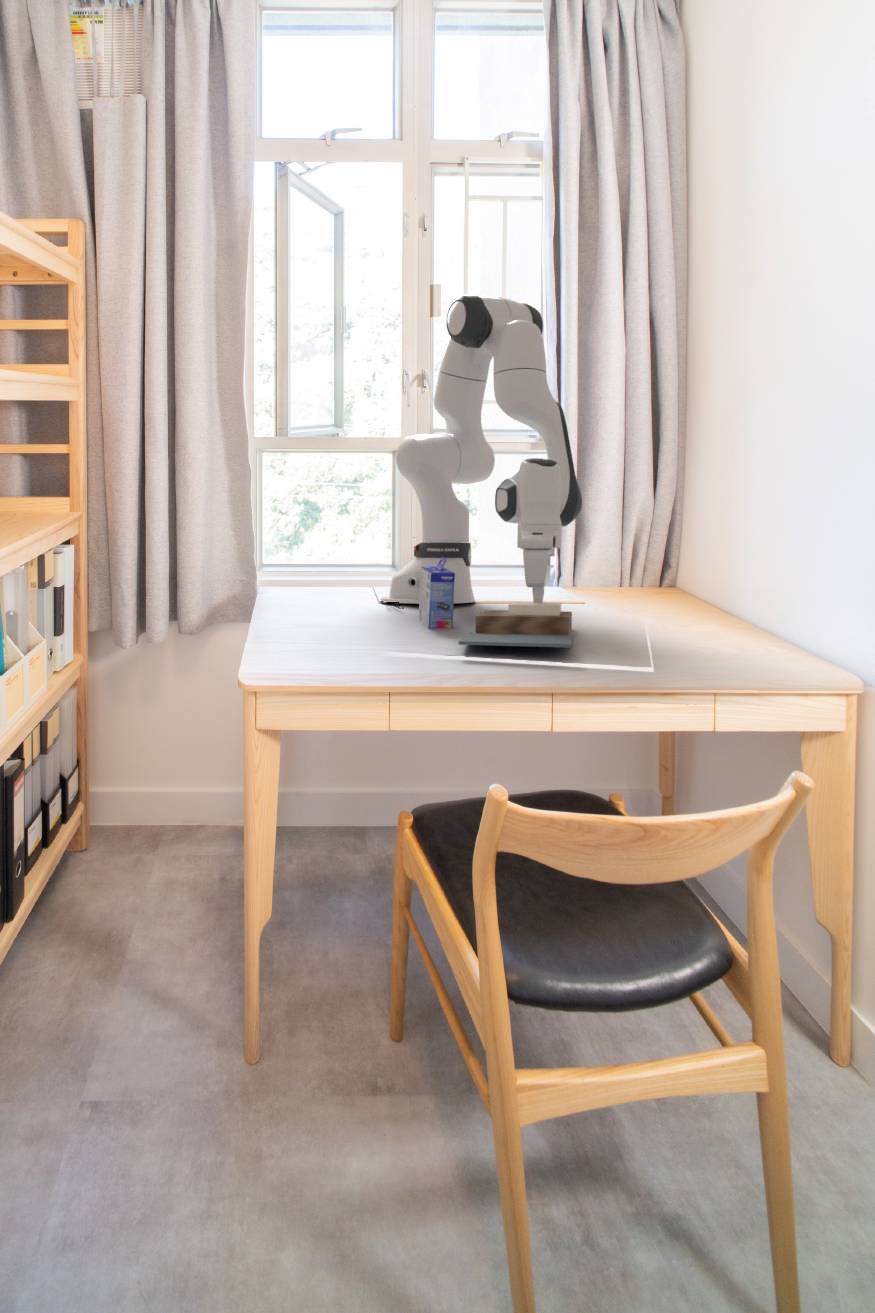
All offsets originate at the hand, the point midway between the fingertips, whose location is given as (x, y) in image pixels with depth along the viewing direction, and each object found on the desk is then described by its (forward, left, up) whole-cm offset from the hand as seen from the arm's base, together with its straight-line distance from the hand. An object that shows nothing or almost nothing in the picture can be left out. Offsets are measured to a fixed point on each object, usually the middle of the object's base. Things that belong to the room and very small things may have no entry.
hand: (538, 607), depth 193 cm
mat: (-2, -19, -5) cm, 20 cm away
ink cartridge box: (-21, 0, -5) cm, 22 cm away
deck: (-2, -5, -5) cm, 7 cm away
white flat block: (0, -5, -1) cm, 5 cm away
